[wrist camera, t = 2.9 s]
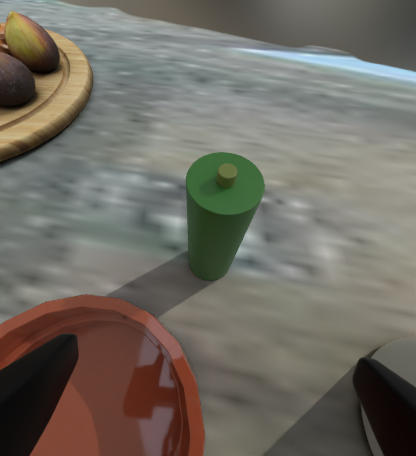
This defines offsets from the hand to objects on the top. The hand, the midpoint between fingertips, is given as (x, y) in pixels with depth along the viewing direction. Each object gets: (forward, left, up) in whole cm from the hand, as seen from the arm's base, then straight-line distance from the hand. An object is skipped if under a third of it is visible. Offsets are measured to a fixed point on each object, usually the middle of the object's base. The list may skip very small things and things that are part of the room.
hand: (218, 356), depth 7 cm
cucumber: (+5, -6, -13) cm, 16 cm away
